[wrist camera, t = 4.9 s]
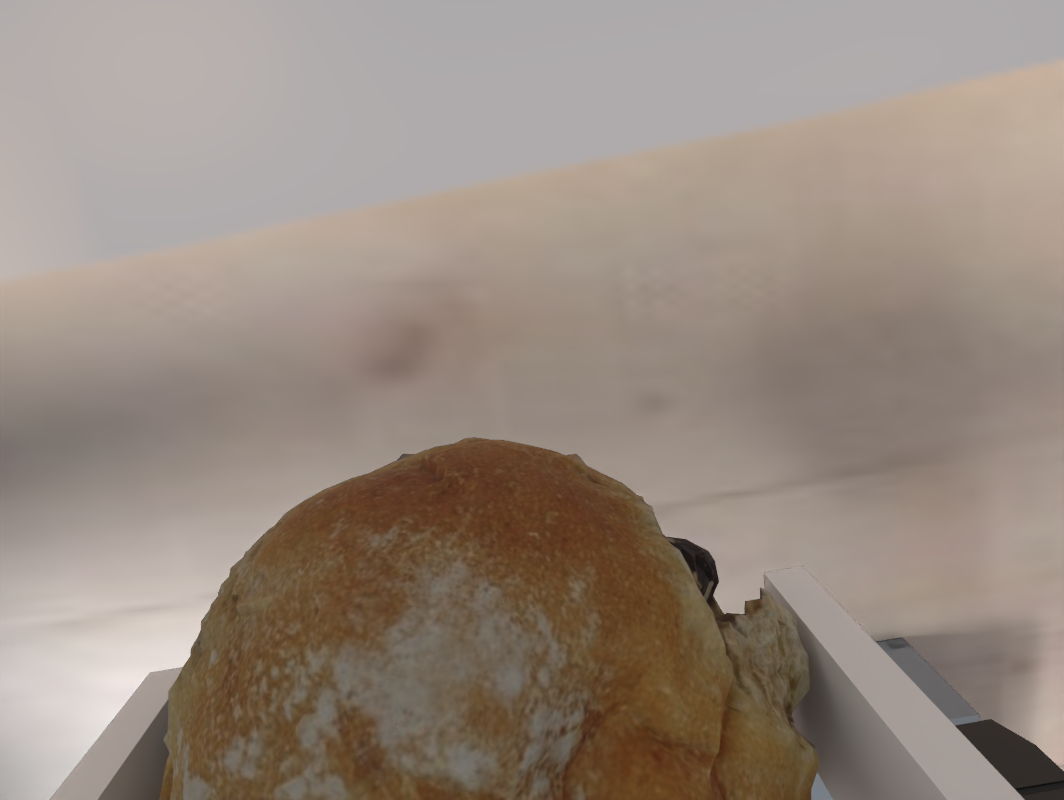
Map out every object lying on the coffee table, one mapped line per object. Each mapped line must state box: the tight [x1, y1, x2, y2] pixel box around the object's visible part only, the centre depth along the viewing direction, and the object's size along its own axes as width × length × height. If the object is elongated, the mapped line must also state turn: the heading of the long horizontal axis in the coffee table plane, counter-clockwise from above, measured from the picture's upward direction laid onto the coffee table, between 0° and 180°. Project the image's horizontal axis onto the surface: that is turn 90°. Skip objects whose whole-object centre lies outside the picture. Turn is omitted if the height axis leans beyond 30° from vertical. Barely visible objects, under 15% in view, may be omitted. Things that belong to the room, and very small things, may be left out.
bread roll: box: [159, 438, 820, 800], centre depth 10 cm, size 10×10×8 cm
